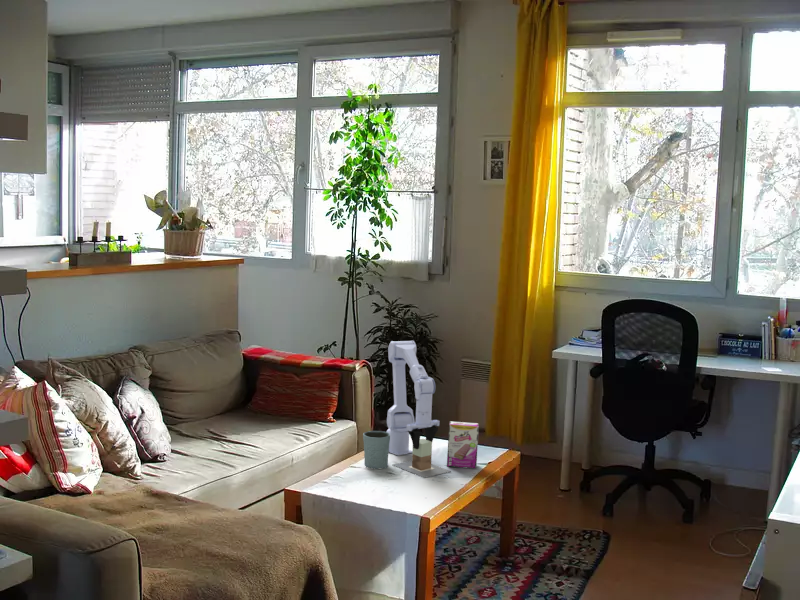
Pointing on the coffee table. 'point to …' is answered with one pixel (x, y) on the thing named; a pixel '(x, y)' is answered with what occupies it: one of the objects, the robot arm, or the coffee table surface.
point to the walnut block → (421, 462)
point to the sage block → (423, 448)
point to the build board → (423, 473)
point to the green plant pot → (376, 449)
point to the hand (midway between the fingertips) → (422, 447)
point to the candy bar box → (462, 444)
